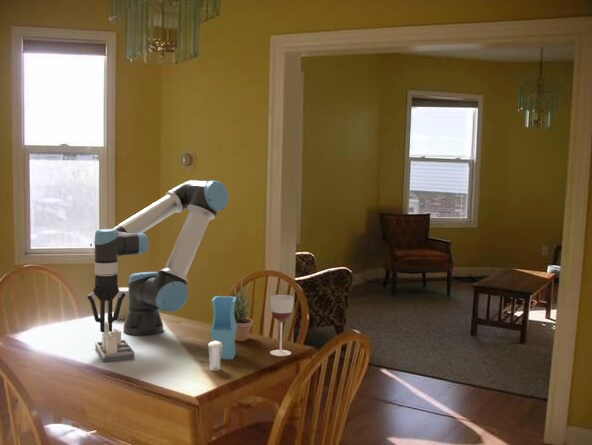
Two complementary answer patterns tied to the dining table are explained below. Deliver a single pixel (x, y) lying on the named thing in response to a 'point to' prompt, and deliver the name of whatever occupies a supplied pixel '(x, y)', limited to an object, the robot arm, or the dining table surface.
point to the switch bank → (122, 353)
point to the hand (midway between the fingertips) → (106, 340)
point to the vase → (224, 324)
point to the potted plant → (242, 315)
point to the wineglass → (281, 316)
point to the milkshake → (214, 355)
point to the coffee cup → (124, 304)
